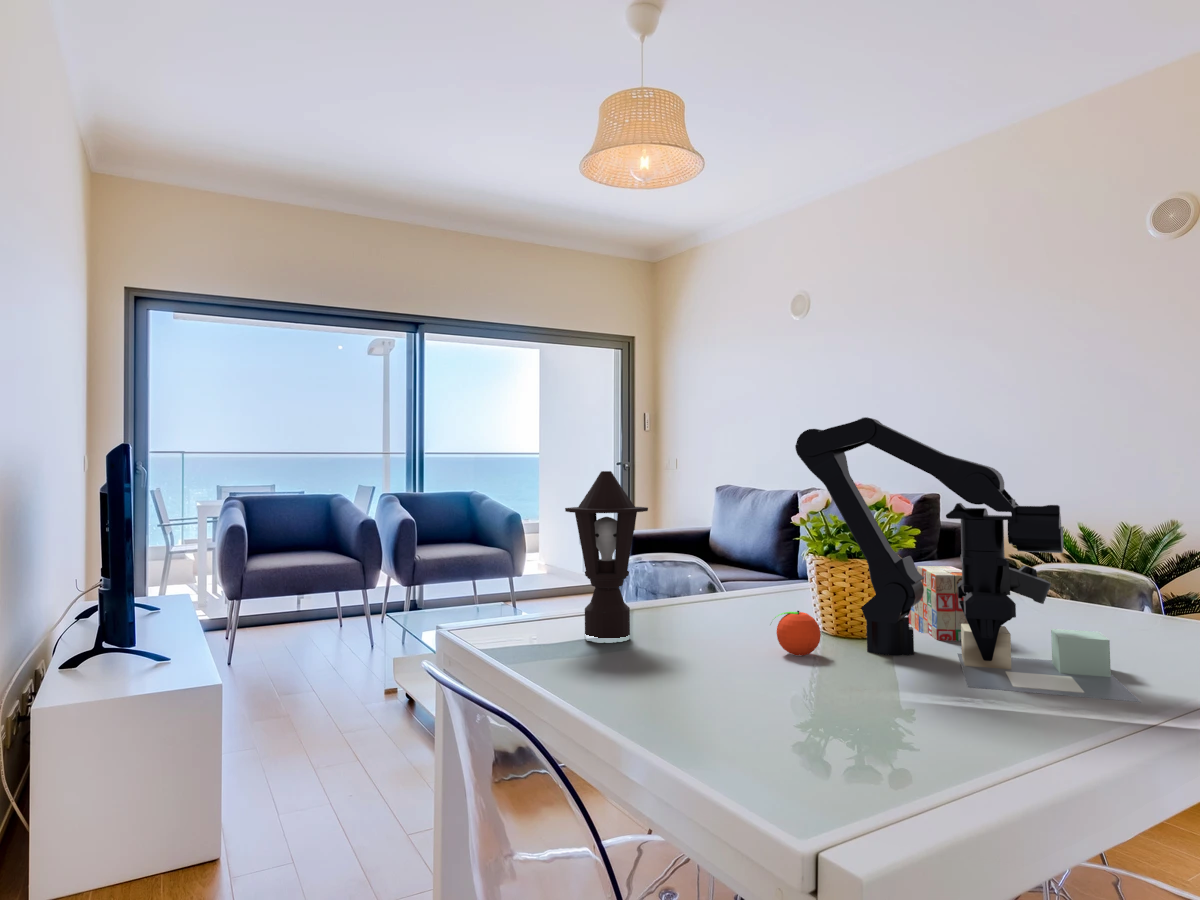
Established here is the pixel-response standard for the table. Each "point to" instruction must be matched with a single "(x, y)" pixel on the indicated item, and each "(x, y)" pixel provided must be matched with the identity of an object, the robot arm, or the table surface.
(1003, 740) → the table surface
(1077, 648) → the sage block
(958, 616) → the stack of blocks
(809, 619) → the clementine
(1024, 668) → the plate
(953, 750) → the table surface
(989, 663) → the maple block
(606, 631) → the lantern
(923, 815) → the table surface
